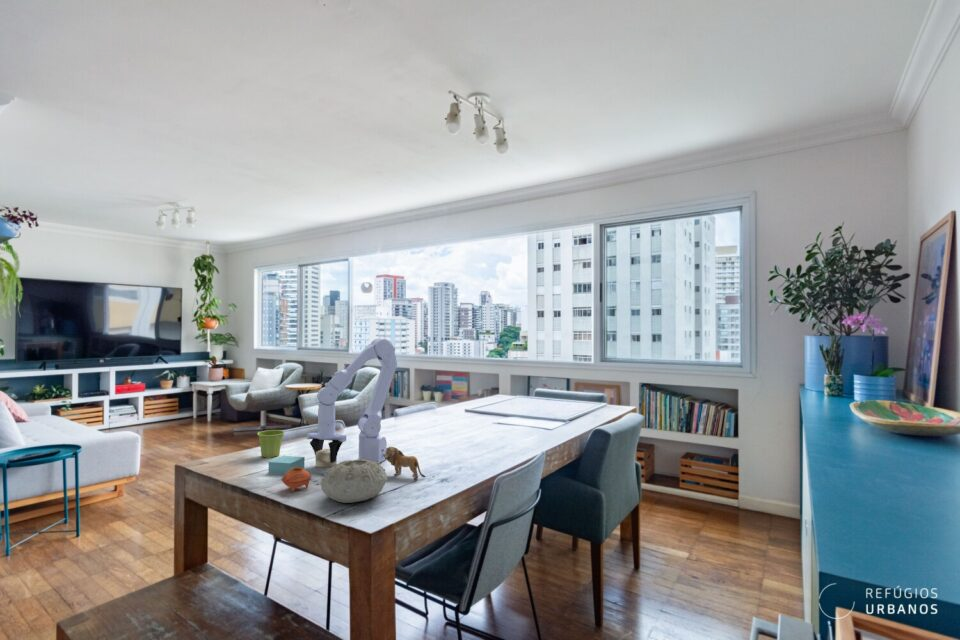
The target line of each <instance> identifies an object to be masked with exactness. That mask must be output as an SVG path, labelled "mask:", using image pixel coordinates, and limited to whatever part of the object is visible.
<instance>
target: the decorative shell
mask: <svg viewBox="0 0 960 640" xmlns="http://www.w3.org/2000/svg"><path fill="white" fill-rule="evenodd" d="M387 480H388V476H387V472H386V468H384V467H383V466H382V465H381V464H380V463H376V462H374V461H371V460H367V459H359V460H356V459H354V460H351V459H350V460H343V461H340V462H338V463H337V464H335V465H333V466H331V467H330V468H328V470H327V471H326V472H325V474H324V475H323V477H322V479H321V481H320V482H321V483H320V485H321V486H320V487H321V491H322V492H323V493H324V494H325V495H326V496H327V497H328V498H330V499H332V500H334V501H335V502H338V503H343V504H352V503H357V502H364V501H368V500H370V499H372V498H374V497H376V496H378V495H379V494H380V493H381V492H382V490H383V488H384V486H385V485H386V483H387Z"/></svg>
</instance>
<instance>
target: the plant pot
mask: <svg viewBox="0 0 960 640" xmlns="http://www.w3.org/2000/svg"><path fill="white" fill-rule="evenodd" d="M285 433H286V432H285V431H284V430H280V429H269V430H263V431H258V432H257V436H258V439H259V446H260V455H261V457H262V458H264V459H265V458H266V459H268V458H269V459H271V458H274V457H280V452H281V447H282V441H283V437H284V434H285Z"/></svg>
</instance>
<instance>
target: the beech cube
mask: <svg viewBox="0 0 960 640" xmlns="http://www.w3.org/2000/svg"><path fill="white" fill-rule="evenodd" d="M337 457H338V456H337ZM337 457H336V461H335V462H333V463H331V460H330V448H323V449H322V450H320V451H317V452H316V456H315V468H324V469H325V468H327V469H330V468H332V467H333V466H335V464H338V463H337V462H338V461H337V460H338V459H337Z"/></svg>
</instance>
